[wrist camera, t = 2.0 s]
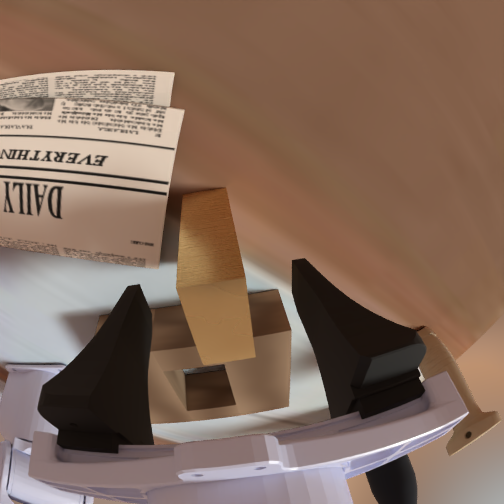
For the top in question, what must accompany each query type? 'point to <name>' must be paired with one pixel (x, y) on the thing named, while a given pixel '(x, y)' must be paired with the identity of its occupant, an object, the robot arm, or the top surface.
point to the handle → (476, 420)
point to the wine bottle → (394, 482)
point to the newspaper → (87, 163)
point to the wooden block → (213, 279)
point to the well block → (218, 382)
